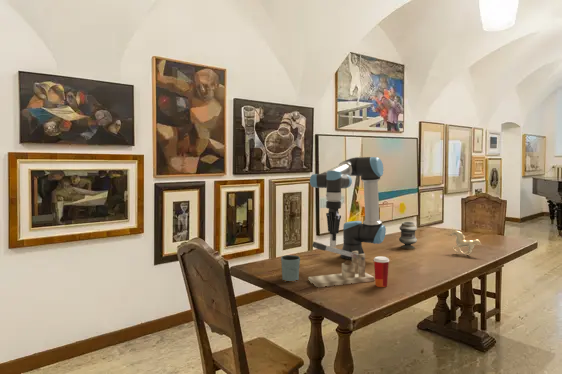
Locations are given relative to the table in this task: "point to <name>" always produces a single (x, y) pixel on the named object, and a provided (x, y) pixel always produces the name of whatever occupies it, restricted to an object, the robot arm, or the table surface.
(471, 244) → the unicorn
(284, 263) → the blue grey planter pot
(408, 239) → the apothecary jar
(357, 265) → the press base
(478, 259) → the table surface
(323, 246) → the lever
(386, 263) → the paper cup
